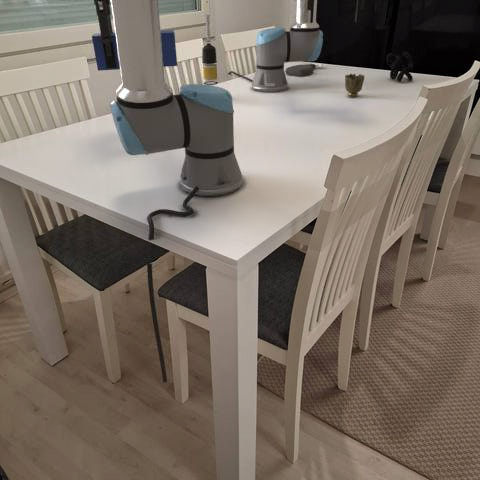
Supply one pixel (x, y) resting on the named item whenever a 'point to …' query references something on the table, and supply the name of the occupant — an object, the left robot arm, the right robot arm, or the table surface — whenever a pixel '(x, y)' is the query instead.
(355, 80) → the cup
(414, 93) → the table surface
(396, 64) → the squiggle
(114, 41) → the bar
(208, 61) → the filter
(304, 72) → the dark grey paddle
